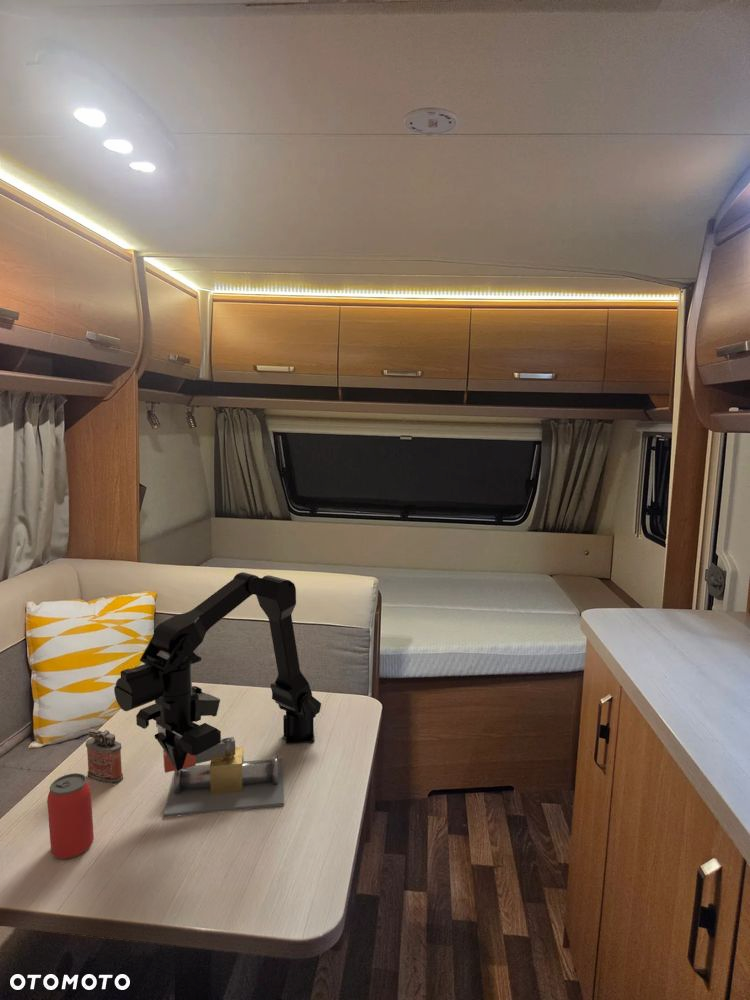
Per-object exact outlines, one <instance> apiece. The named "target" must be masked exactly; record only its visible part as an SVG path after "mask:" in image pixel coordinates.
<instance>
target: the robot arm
mask: <svg viewBox="0 0 750 1000" xmlns="http://www.w3.org/2000/svg"><path fill="white" fill-rule="evenodd" d="M253 595H255V596H256V599H257V601H258V605H259V606H260V608H261V610H262V611H263V613H265V615H266V616H267V618H268V622H269V629H270V634H271V639H272V645H273V652H274V657H275V663H276V669H277V676H276V678H275V681H274V682H273V683H271V684H270V690H271V694H272V695H271V700H273V701H274V702H275V704H277V705H278V708H279V709H280V710H282V711H285V714H284V715H283V716H282V718H283V719H282V720H283V738H285V744H299V743H300V744H301V743H310V742H311V743H312V742H315V739H316V738H315V731H314V723H315V720H314V719H315V718H316V717H317V716H316V715H317V714H319V713H320V710H321V709H322V708H321V707H322V703H321V702H320V701H319V700H318V699H317V698H315V697H314V696H313V692H312V689H311V686H310V683H309V681H308V679H306V676H305V675H304V674H303V672H302V671H301V667H300V662H299V661H300V660H299V656H298V649H297V642H296V636H295V631H294V630H295V629H294V623H293V617H292V614H293V612H294V610H295V607H296V605H297V589H296V585H295V583H294V582H293V581H291V580H289V579H285V578H282V577H277V576H273V575H267V574H266V575H264V576H263V577H259V576H258V575H256V574H251V573H248V572H244V571H243V572H239V573H238V572H237V573H236V574H235V576H234V577H233V579H231V580H230V581H228V582H227V583H226V584H225V585H223V586H222V587H220V588H219V589H218V590H217V591H215V592H214V593H213V594H211V595H210V596H209V597H208V598H206V599H205V600H203V601H202V602H201V603H200V604H198V605H197V606H196V607H194V608H193V609H191V610H189V611H188V612H187V611H186V612H184V613H179V614H177V615H173V616H172V617H169V618H168V619H166V620H164V621H163V622H160V623H159V624H158V625H157V626H156V627H154V629H153V634H152V637H151V639H150V641H149V642H148V644H147V646H146V648H145V650H144V652H143V653H142V655H141V657H140V659H139V661H140V662H141V663H143V664H141V665H138V666H135V667H132V668H131V667H130V668H126V669H123V670H121V671H120V677H119V678H118V679H117V680H116V682H115V686H114V687H113V688H114V689H113V690H114V696H115V700H116V703H117V704H118V706H119V708H120V709H121V710H122V711H123V712H129V711H131V710H134V709H137V708H139V707H142V706H144V705H146V704H149V703H152V702H154V703H153V704H151V705H148V706H144V707H142V708H141V709H139V711H138V713H137V714H136V715H135V716H136V718H135V719H136V720H135V721H136V726H138V727H140V728H142V729H144V730H145V729H147V728H148V727H149V726H150V721H151V720H153V721H155V727H156V728H157V733H155V734H154V735H153V736H154V739H156V740H157V742H158V743H159V745H160V746H161V748H162V749H163V750H164V751H165V752H166V754H167V756H168V757H169V759H170V761H171V762H172V764H173V765H174V767H175V769H176V770H177V771H179V770H181V769H182V768H183V765H184V762H185V759H186V756H187V753H189V754H190V755H198V754H200V753H202V752H204V751H206V750H208V749H210V748H212V747H213V746H215V745H217V744H219V743H221V739H222V733H221V732H222V731H221V730H220V729H218V728H216V727H214V726H212V725H210V724H208V723H206V722H204V723H202V724H198V723H197V722H199V721H202V717H203V716H205V717H206V716H208V717H209V716H211V717H217V714H218V712H219V707H220V703H221V699H220V698H218V697H216V696H215V695H212V694H209V693H206V692H203V689H202V688H201V687H199V686H197V685H193V681H192V678H193V677H192V665H193V664H195V663H198V662H200V661H202V657H201V656H199V655H198V654H196V653H195V651H196V649H197V648H198V647H199V646H200V645H201V644H202V643H203V641H204V638H205V637H206V636H205V635H207V632H208V631H209V630H210V629H211V628H213V627H214V626H215V625H216V624H217V623H218V622H220V621H221V620H222V619H224V618H225V617H226V616H227V615H229V614H230V613H231V612H232V611H234V610H235V609H236V608H238V607H239V606H240V605H242V603H244V602H245V601H246V600H247V599H248V598H250V597H252V596H253ZM159 653H162V654H164V655H165V656H167V657H168V658H165V657H162V656H160V655H159Z"/></svg>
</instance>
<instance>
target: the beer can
mask: <svg viewBox="0 0 750 1000" xmlns="http://www.w3.org/2000/svg"><path fill="white" fill-rule="evenodd" d="M91 792H92V791H91V786H90V784H89V782H88V780H87V776H86V775H85V774H82V773H75V772H74V773H69V774H65V775H62V776H60V777H58V778H57V779H55V780H54V781H53V782H51V784H50V786H49V792H48V795H47V799H46V800H47V801H46V803H47V813H48V814H47V816H48V817H47V818H48V827H49V841H50V842H49V844H50V853H51V854H52V856H53V857H54V858H58V859H61V860H62V859H63V860H66V859H67V860H68V859H73V858H77V857H78V856H79V855H82V854H83V853H85V852H86V851H87V850H88V849H89V848H90V847H91V846H92V844H93V841H94V838H95V836H94V821H93V808H92V807H93V805H92V793H91Z"/></svg>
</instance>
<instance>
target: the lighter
mask: <svg viewBox="0 0 750 1000" xmlns="http://www.w3.org/2000/svg"><path fill="white" fill-rule="evenodd" d="M88 737H89V738H88V739H87V740H86V741H85V747H86V752H87V753H86V754H87V769H88V771H87V778H88V777H89V778H88V779H90V780H92V781H94V780H95V782H97V781H98V782H99V783H101V782H102V784H106V783H108V785H117V784H120V783H121V782H123V780H124V773H123V769H122V766H123V765H122V753H121V751H122V743H121V742H119V741H117V740H116V734H115V733H111V732H110V731H109V729H108V730H107V729H105V730H104V731H102V730H99V729H94V728H92V729H90V730H88Z"/></svg>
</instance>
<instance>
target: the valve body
mask: <svg viewBox="0 0 750 1000" xmlns="http://www.w3.org/2000/svg"><path fill="white" fill-rule="evenodd" d="M278 758H279V757H278V756H272V759H273V760H268V761H256V762H244V760H245V759H244V746H235V755H232V756H230V757H223V758H219V759H215V760H210V765H209V766H197V767H188V768H184V769H181V770H179V771H177V770H175V771H174V772H173V774H174V775H173V779H174V793H175V794H180V793H181V790H187V789H198V788H209V787H211V795H215V794H226V793H237V792H242V790H243V784H254V783H265V782H273V785H278Z"/></svg>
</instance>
